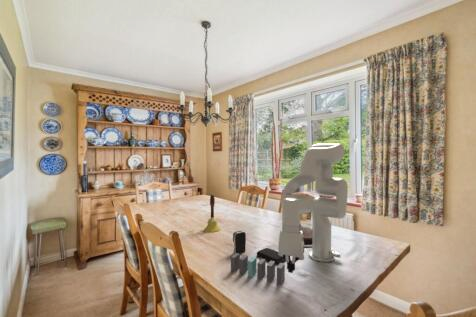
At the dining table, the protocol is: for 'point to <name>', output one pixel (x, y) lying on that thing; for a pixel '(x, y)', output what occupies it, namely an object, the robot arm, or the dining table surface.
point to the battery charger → (239, 241)
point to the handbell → (212, 219)
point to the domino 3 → (252, 267)
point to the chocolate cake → (307, 237)
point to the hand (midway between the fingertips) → (290, 271)
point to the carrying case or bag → (270, 255)
